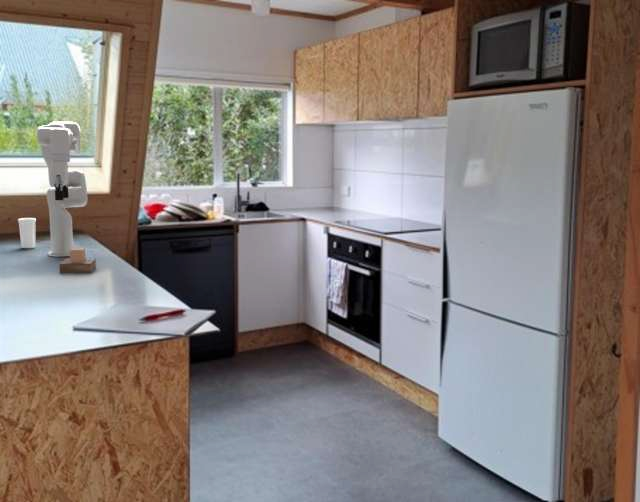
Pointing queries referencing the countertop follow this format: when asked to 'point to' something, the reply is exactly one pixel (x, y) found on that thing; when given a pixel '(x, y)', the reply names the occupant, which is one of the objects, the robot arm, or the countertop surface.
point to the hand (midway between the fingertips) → (62, 199)
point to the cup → (27, 232)
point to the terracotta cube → (77, 255)
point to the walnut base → (78, 266)
